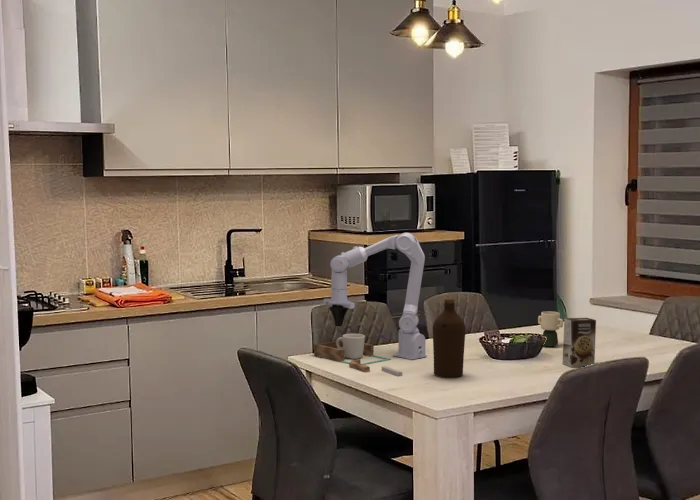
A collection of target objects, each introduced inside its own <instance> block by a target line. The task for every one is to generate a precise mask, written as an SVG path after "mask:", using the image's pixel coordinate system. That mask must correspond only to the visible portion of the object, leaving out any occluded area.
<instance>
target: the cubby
mask: <svg viewBox="0 0 700 500" xmlns="http://www.w3.org/2000/svg"><path fill="white" fill-rule="evenodd" d="M336 341H337V340H334V341H328V342H322V343H321V342H320V343H316V344H314V345H313V346H314V347H313V349H314V351H313V355H314V356H315V357H319V358H323V359H326V360H327V359H328V360H332V361H335V362H340V361H345V356H344V350H341V349H338V348H337V345H336ZM339 345H340V347H341V348H342V347H343V342H342V340H340V341H339ZM374 347H375V345H374V344H370V343H367V342H366V343H365V342H364V350H363V356H367V357H373V356H372V355H375V354H374V352H375V351H374Z"/></svg>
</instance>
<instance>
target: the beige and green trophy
mask: <svg viewBox="0 0 700 500" xmlns="http://www.w3.org/2000/svg"><path fill="white" fill-rule="evenodd" d="M537 323H538V325H540V329H541V330H543V331H542V336H546V337H547V340H546V342H545V344H544V347H552V348H554V347H556V346H559V339H558V332H557V331H558V330H560V328H564V320H563V319H562V318H561V313H560V312H557V311H549V310H548V311H541V314H540V315H538V317H537Z"/></svg>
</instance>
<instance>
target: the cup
mask: <svg viewBox="0 0 700 500" xmlns="http://www.w3.org/2000/svg"><path fill="white" fill-rule="evenodd" d="M365 338H366V335H364V334H362V333H344V334H342V337H341V336H340V337H338V338H337V339H336V340H335V341H336V345H337V348H338V349H341V350H344V358H346V359H350V360H351V359H352V360H356V359H361V358H362V357H363V356H364V355H363V350H364V343H365V340H366V339H365ZM340 340H342V342H343V347H342V348H341V347H340V345H339V341H340Z"/></svg>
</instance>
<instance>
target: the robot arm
mask: <svg viewBox="0 0 700 500" xmlns="http://www.w3.org/2000/svg"><path fill="white" fill-rule="evenodd" d="M387 249H391V250H396V249H397V250H398V251H399V252H401V253H403V254H404V255H405V256H406V257H407V258H408V259H409V260H410V268H409V273H408V274H409V275H408V281H407V288H406V295H405V300H404V307H403V311H402V315H401V317H400V318H399V320H398V326H399V328H400V329H398V349H397V350H398V353H394V354H392V356H394V357H399V358H403V359H408V360H417V359H421V358H427V356H428V355H427V354H426V346H427V345H426V340H427V339H426V337H425V335H424V334H422V333H420V330H419V328H418V327H417V325H418V324H419V321H420V320H419V316H418V309H419V308H418V307H419V300H420V294H421V286H422V281H423V280H422V279H423V273H424V267H425V262H426V261H425V260H426V259H425V258H426V256H425V253H424V251H423V250H422V247H421V245H420V243H419V240H418V239H417V237H415V236H414V234H412V233H411V232H402V233H401V234H396V235H392V236H389V237H387V238H384V239H382V240H380V241H378V242H376V243H374V244H370V245H369V246H367V247H362V246H357V245H356V246H353V247H352V249H351V250H347V251H346V252H344V251H342V252H341V253H340V254H339V255H336V256H334V257H333V258H332V259H331V260H330V264H329V265H330V268H331V277H330V279H331V281H330V282H331V284H330V285H331V286H330V288H331V289H330V291H331V292H330V298H323V305H329V311H330V312H331V314H332V317H333V322H334V324H335V325H334V326H335V327H339V328H340V327H343V324H344V320H345V316H346V314H347V312H348V311H349V309H350V310H353V309H355V306H356V304H355V302H353V301H349V300H348V272H347V271H348V268H349V269H350V268H353V267H355V266H358V265H359V264H362V263H365V262H367V260H368V257H369V256H371V255H375V254H377V253H379V252H382V251H384V250H387Z"/></svg>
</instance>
